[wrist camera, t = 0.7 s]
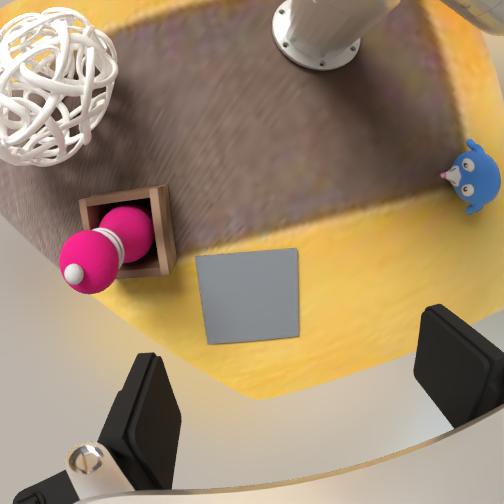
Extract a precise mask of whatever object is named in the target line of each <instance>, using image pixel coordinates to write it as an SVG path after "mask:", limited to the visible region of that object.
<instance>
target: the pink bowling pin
mask: <svg viewBox="0 0 504 504" xmlns="http://www.w3.org/2000/svg"><path fill="white" fill-rule="evenodd" d="M154 238H155V231H154V224H153V217H152V213H151V212H150V211H149V210H148V209H147V208H145V207H143V206H141V205H123V206H119V207H116V208H114V209H112V210H111V211H110V212H108V213H107V214H106V215H105V217H104V218H103V219H102V221H101V223H100V226H99V228H96V229H93V230H83V231H80V232H77V233H75V234H74V235H72V236H71V237H70V238H69V239H68V240H67V241H66V242H65V244H64V246H63V247H62V250H61V253H60V260H59V264H60V269H61V272H62V275H63V277H64V279H65V280H66V282H67V283H68V284H69V285H70V286H71V287H72V288H73V289H75V290H76V291H78V292H81V293H84V294H95V293H99V292H101V291H103V290H105V289H106V288H108V287H109V286H110V285H111V284H112V283H113V281H114V280H115V278H116V276H117V273H118V269H119V268H120V267H121V265H122V263H129V262H134V261H136V260H138V259H140V258H141V257H143V256H144V255H145V254H146V253H147V252H148V251H149V249H150V247H151V245H152V242H153V240H154Z"/></svg>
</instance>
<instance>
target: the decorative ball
mask: <svg viewBox="0 0 504 504" xmlns="http://www.w3.org/2000/svg"><path fill="white" fill-rule="evenodd" d="M50 12H63V13H55V14H51V15H45V14H47V13H50ZM29 17H30V18H29ZM24 18H27V19H25V20H22V19H24ZM77 19H79V20H81V22H82V23H83V24H84V25H85V27H86V29H84V28H81V27H75V26H72V25H73V24H74V23H75V21H76V20H77ZM19 20H22V21H21V22H20V23H18V24H17V25H16V26H14V27H12V28H11V29H10V30H9V31H8V32H7V33H6V35H5V36H4V37H3V36H2V35H3V33H4V32H5V31H6V30H7V29H8V28H9V27H10V26H11V25H12V24H14V23H16V22H17V21H19ZM37 27H40V28H39V29H37ZM44 27H47V28H50V29H53V30H55V31H56V33H55V32H54V31H53V30H48V29H44ZM68 30H73V31H79V32H81V34H78V33H74V34H69V32H68ZM28 35H33V36H32V37H31V38H29V39H28ZM39 35H41V36H46V37H44V38H42V39H41V40H39V41H37V42H36V43H34V44H33V45H32V44H31V42H32V41H34V40H35V39H36V38H37V37H38V36H39ZM90 37H91V39H90ZM19 38H21V39H22V40H21V44H19V45H18V46H15V47H13V48H11V49H9V48H8V47H10V46H11V45H12V44H13V43H15V42H16V41H17V40H18V39H19ZM105 43H106V44H107V45H108V47H109V48H110V50H111V53H112V58H111V56H109V55H108V54H107V53H106V51H107V45H106V44H105ZM59 45H61V49H60V50H59V49H58V48H57V47H56V46H59ZM26 47H27V48H26ZM20 49H21V54H19V55H18V56H17V57H16V58H14V59H12V57H11V55H10V54H12V53H14V52H16V51H18V50H20ZM47 50H51V51H52V52H53V53H52V54H50V55H48V56H47V57H45V58H44V59H43V60H41V61H40V62H37V61H36V60H34V59H33V58H34V57H36V56H37V55H39V54H41V53H43V52H45V51H47ZM73 50H78V53H77V59H76V69H77V74H78V77H79V80H73V77H74V72H75V59H74V56H73ZM83 53H85V54H86V56H85V57H84V58H83V59H82V57H83ZM55 58H56V72H55V71H53V70H51V69H50V64H51V63H52V61H53V60H54V59H55ZM85 60H86V78H85V77H84V75H83V65H84V63H85ZM0 61H1V65H0V75H1V74H2V76H1V77H0V137H1V140H0V158H1V159H2V160H4V161H6V162H8V163H10V164H13V165H15V166H16V165H21V166H28V165H35V166H39V167H46V166H52V165H55V164H58V163H61V162H63V161H65V160H67V159H69V158H70V157H71V156H73V155H74V154H75V153H76V152H77V151H78V150H79V149H80V147H81V146H82V145H83V144H84V145H87V144H88V143H89V142H90V141H91V131H92V130H93V129H94V128H95V127H96V126H97V125H98V123H99V122H100V120H101V119H102V117H103V115H104V113H105V112H106V109H107V107H108V104H109V101H110V98H111V94H112V90H113V87H114V84H115V78H116V77H117V74H118V66H117V54H116V50H115V47H114V45H113V43H112V41H111V40H110V38H109V37H108V36H107V35H106V34H104V33H103V32H101V31H99V30H97V29H96V27H95V26H93V25H91V24H90V23H89V21H88V20H87V19H86V18H85V17H84V16H83V15H81V14H80V13H78V12H76V11H74V10H71V9H68V8H62V7H54V8H50V9H47V10H45V11H44V12H43V13H42V14H41V15H40V14H38V13H28V14H24V15H21V16H18V17H16V18H14V19H13V20H11V21H10V22H9V23H7V24H6V25H5V26H4V27H3V28H2V30H1V31H0ZM27 63H28V64H29V65H30V66H31V67H33V69H32V71H30V70H29V69H27V68H26V66H25V65H26V64H27ZM46 63H47V65H46V67H45V66H44V65H45V64H46ZM95 66H96V67H97V69H98V70H99V71H100V74H99V75H98V76H96V77H94V74H95ZM19 67H20V69H19ZM39 71H40V72H42V73H44V74H46V75H49V76H50V77H52V78H53V79H52V80H50V79H47V78H44V77H42V76H39V75H37V73H38V72H39ZM66 74H68V77H67V78H64V76H65V75H66ZM11 77H14V78H15V79H17V80H18V81H20V82H21V83H20V82H16V83H11ZM105 86H106V92H104V93H102V94H100V95H98V96H96V97H95V98H92V91H93V90H94V89H98V88H103V87H105ZM40 88H43V89H45V90H48V91H51V92H50V93H48V92H46V91H44V90H42V89H40ZM12 90H24V94H23V98H20V97H12ZM30 93H35V94H39V95H41V96H43V97H44V98H45V100H46V104H45V106H44V107H43V108H41V107H39V106H38V105H36V104H35V103H33V102H31V101H29V94H30ZM65 96H72V97H74V96H81V105H80V106H79V107H78V108H76V109H75V110H74V111H72V112H71V113H69V111H68V109H67V107H66V106H65V105H64V104H63V102H62V101H61V100H63V98H64V97H65ZM19 104H20V105H19ZM95 106H96V107H95ZM55 107H57V108H58V109H59V111H60V112H61V114H62V117H63V118H62V119H61V120H59V121H55V120H54V119H53V118H52V117H51V114H52V112H53V111H54V109H55ZM93 107H94V108H93ZM92 108H93V109H92ZM9 110H11V111H12V112H14V113H16V114H17V115H19V116H20V117H21V121H11V120H8V112H9ZM30 110H31V111H32V112H30ZM81 111H82V113H81V115H80V116H78V117H76V118H74V119H72V118H73V117H74V116H76V115H77V114H78V113H80V112H81ZM29 115H30V116H32V117H30V116H29ZM70 119H72V120H70ZM31 123H32V124H31ZM30 124H31V125H30ZM43 124H45V125H46V126H45V127H44V128H42V129H41V130H40V131H39V132H38V133H37V134H35V132H36V131H37V130H39V129H40V128H41V127H42V125H43ZM78 124H79V130H80V132H81V133H80V134H78V135H76V136H74V137H70V132H69V128H71V127H74V126H76V125H78ZM7 128H10V129H19V130H18V131H17V132H15V133H14V134H13V135H11V136H9V137H8V135H7ZM50 135H53V137H54V138H53V137H48V136H50ZM28 138H30V140H29V141H28V143H27V144H26V145H25V146H24V147H23V148H20V147H13V146H11V145H15V144H19V143H21V142H23V141H25V140H26V139H28ZM77 141H79V142H78V143H77V144H76V146H75V147H74V148H73V149H72V150H71V151H70V152H69V153H68V154H66V148H67V145H70V144H74V143H76V142H77ZM37 143H39V144H42V145H41V146H39V147H37V148H35V149H32V148H33V147H34V146H35V145H36V144H37ZM54 145H58V148H56V149H53V150H48V149H49V148H51V147H53V146H54ZM9 151H12V152H9ZM17 153H18V154H17ZM52 156H57V157H56V158H55V159H47V158H46V157H52Z"/></svg>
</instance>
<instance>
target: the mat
mask: <svg viewBox="0 0 504 504" xmlns="http://www.w3.org/2000/svg"><path fill="white" fill-rule="evenodd" d="M195 259H196V267H197V274H198V281H199V289H200V296H201V302H202V309H203V316H204V322H205V328H206V335H207V341H208V344H219V343H233V342H245V341H257V340H267V339H277V338H286V337H295V336H299V309H298V261H297V248H288V249H276V250H264V251H252V252H240V253H229V254H217V255H205V256H196V257H195Z"/></svg>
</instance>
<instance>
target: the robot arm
mask: <svg viewBox="0 0 504 504" xmlns="http://www.w3.org/2000/svg"><path fill="white" fill-rule="evenodd" d="M400 1H401V0H287V1H285V2H284V3H282V4H281V5H280V6H279V8H278V9H277V10H276V12H275V14H274V17H273V20H272V35H273V37H274V40H275V42H276V44H277V46H278V48H279V49H280V50H281V51H282V52H283V54H284V55H286V56H287V57H288V58H289V59H290V60H292V61H293V62H295V63H297V64H298V65H301V66H303V67H306V68H309V69H313V70H322V71H325V70H333V69H337V68H340V67H342V66H344V65H346V64H347V63H348V62H350V61H351V60H352V59H353V58H354V57H355V55H356V54H357V52H358V50H359V46H360V37H361V36H362V35H363V34H364V33H365V32H367V31H368V30H369V29H370V28H371V27H372V26H374V25H375V24H376V23H377V22H378V21H380V20H381V19H382V18H383V17H384V16H386V15H387V14H388V13H389V12H390V11H392V10H393V9H394V8H395V7H396V6H397V5H398V4H399V2H400ZM440 1H441V2H443V3H444V4H445V5H447V6H448V7H450V8H451V9H452V10H454V11H455V12H456V13H458V14H459V15H460V16H462V17H463V18H464V19H466V20H467V21H468V22H470V23H471V24H472V25H474V26H475V27H477V28H478V29H480V30H482V31H483V32H486V33H488V34H491V35H496V36H504V0H440ZM280 13H281V14H280ZM282 14H283V15H282ZM283 46H286V47H287V48H285V47H283ZM350 49H351V50H352V51H351V50H350ZM320 64H322V65H323V66H321V65H320ZM414 376H415V378H416V380H417V381H418V382H419V384H420V385H421V386H422V387H423V388H424V390H425V391H426V393H427V394H428V395H429V396H430V398H431V399H432V400H433V401H434V403H435V404H436V405H437V407H438V408H439V409H440V411H441V412H442V413H443V415H444V416H445V417H446V418H447V420H448V421H449V422H450V424H451V425H452V426H453V427H454V429H453V430H451V431H449V432H447V433H444V434H442V435H440V436H438V437H435V438H433V439H430V440H428V441H426V442H423V443H420V444H418V445H416V446H413V447H410V448H407V449H405V450H402V451H399V452H397V453H393V454H390V455H388V456H384V457H381V458H379V459H375V460H372V461H369V462H365V463H362V464H358V465H355V466H351V467H347V468H344V469H339V470H336V471H332V472H327V473H323V474H318V475H313V476H309V477H303V478H298V479H292V480H287V481H280V482H273V483H266V484H258V485H249V486H240V487H226V488H212V489H188V490H172V482H173V475H174V467H175V461H176V454H177V447H178V440H179V434H180V427H181V413H180V410H179V407H178V405H177V402H176V399H175V396H174V394H173V390H172V388H171V385H170V382H169V379H168V376H167V373H166V370H165V367H164V363H163V361H162V358H161V357H160V356H156V354H155V353H139V354H138V355H137V357H136V359H135V361H134V363H133V366H132V368H131V370H130V372H129V375H128V377H127V379H126V382H125V384H124V386H123V389H122V390H121V391H119V392H118V394H117V396H116V398H115V400H114V403H113V405H112V407H111V410H110V412H109V414H108V417H107V419H106V422H105V424H104V427H103V429H102V431H101V434H100V436H99V439H98V441H97V443H96V442H84V443H81V444H78V445H77V446H75V447H73V448H72V449H71V450H70V451H69V452H68V453H67V455H66V457H65V461H64V465H65V469H66V470H64V471H62V472H60V473H58V474H56V475H54V476H52V477H50V478H48V479H46V480H43V481H41V482H39V483H37V484H35V485H33V486H31V487H28V488H26V489H24V490H22V491H21V492H19V493H18V494H17V495H16V496H15V498H14V500H13V504H504V352H502V351H501V350H500V349H499V348H497V347H496V346H495V345H494V344H492V343H491V342H490V341H489V340H487V339H486V338H485V337H483V336H482V335H481V334H480V333H478V332H477V331H476V330H475V329H473V328H472V327H471V326H469V325H468V324H467V323H466V322H464V321H463V320H462V319H460V318H459V317H458V316H456V315H455V314H454V313H452V312H451V311H450V310H448V309H447V308H446V307H444V306H443V305H442V304H436V305H433V306H429V307H427V308H426V309H425V311H424V312H423V313H422V315H421V323H420V331H419V339H418V346H417V352H416V358H415V365H414Z"/></svg>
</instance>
